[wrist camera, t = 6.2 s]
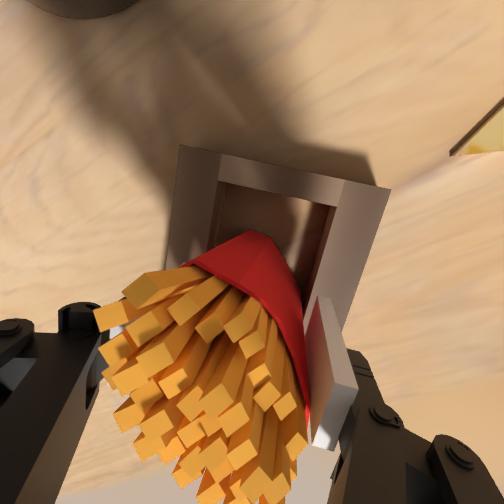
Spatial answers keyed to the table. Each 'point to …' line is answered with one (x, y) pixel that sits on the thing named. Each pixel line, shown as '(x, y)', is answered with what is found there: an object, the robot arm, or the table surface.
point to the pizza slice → (486, 136)
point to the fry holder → (285, 183)
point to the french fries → (215, 370)
